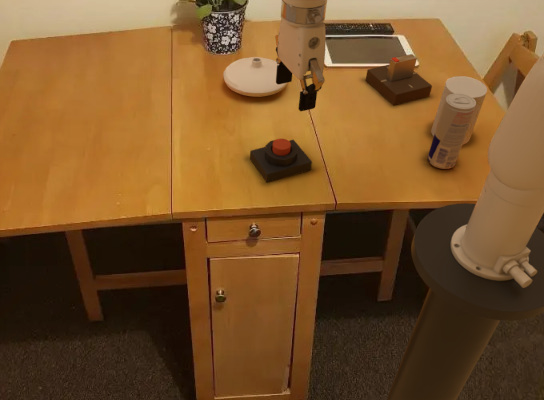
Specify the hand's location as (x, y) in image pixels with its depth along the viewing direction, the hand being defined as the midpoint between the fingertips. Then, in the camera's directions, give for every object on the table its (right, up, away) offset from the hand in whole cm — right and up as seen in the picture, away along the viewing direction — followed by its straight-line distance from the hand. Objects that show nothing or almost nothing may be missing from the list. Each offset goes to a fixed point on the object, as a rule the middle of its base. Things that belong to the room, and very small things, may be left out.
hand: (294, 95), depth 110 cm
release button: (-2, -10, +7) cm, 12 cm away
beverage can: (+31, -12, +10) cm, 35 cm away
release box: (-2, -13, +9) cm, 16 cm away
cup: (+36, -6, +17) cm, 40 cm away
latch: (+28, +9, +28) cm, 41 cm away
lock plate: (+28, +7, +30) cm, 42 cm away
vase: (-6, +8, +31) cm, 32 cm away
